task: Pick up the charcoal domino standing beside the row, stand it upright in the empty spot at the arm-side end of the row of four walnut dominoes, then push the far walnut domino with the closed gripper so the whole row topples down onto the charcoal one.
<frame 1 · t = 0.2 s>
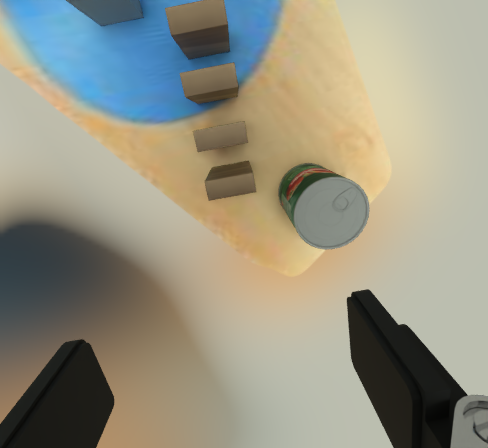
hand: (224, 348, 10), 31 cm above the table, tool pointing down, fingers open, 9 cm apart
walnut domino 2: (224, 133, 37), on the table
walnut domino 4: (207, 46, 34), on the table
walnut domino 1: (231, 171, 39), on the table
walnut domino 3: (216, 91, 35), on the table
canned tomato: (306, 191, 40), on the table
charcoal domino: (119, 11, 32), on the table
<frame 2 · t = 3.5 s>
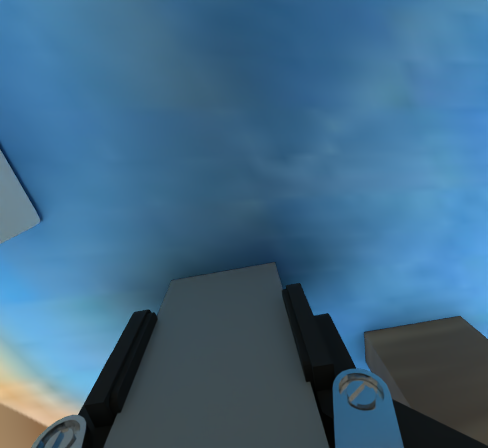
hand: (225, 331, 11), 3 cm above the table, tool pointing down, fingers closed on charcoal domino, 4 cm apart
walnut domino 4: (411, 339, 15), on the table
charcoal domino: (227, 289, 14), on the table, touching gripper
when the fingers open (4 cm above the table, at t = 8.6 s): charcoal domino stays where it is, on the table.
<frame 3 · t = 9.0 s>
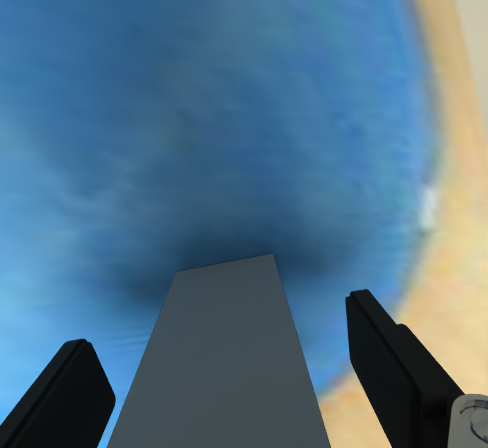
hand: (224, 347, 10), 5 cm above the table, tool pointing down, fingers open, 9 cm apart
charcoal domino: (228, 279, 15), on the table
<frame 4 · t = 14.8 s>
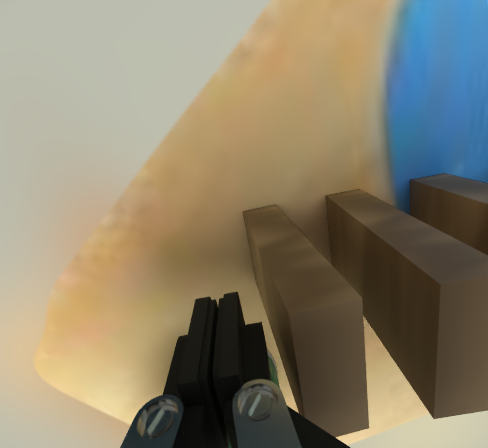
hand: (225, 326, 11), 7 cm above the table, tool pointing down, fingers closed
walnut domino 2: (345, 231, 18), on the table
walnut domino 1: (265, 246, 18), on the table, tilted 5°, touching gripper
walnut domino 3: (425, 216, 18), on the table
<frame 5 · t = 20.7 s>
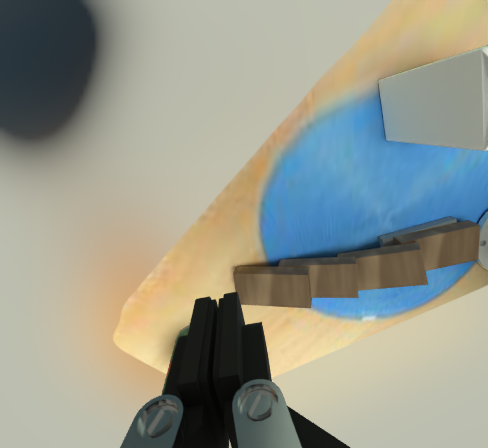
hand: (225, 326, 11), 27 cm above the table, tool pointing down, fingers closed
milk carton: (409, 102, 35), on the table
walnut domino 2: (281, 278, 41), point 1 cm above the table, tilted 73°, touching walnut domino 1
walnut domino 4: (398, 256, 39), point 2 cm above the table, tilted 90°, touching charcoal domino
walnut domino 1: (238, 285, 41), point 1 cm above the table, tilted 72°, touching walnut domino 2
walnut domino 3: (341, 272, 40), point 1 cm above the table, tilted 67°
charcoal domino: (381, 252, 41), on the table, tilted 90°, touching walnut domino 4
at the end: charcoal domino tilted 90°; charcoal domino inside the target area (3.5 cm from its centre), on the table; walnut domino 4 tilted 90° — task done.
